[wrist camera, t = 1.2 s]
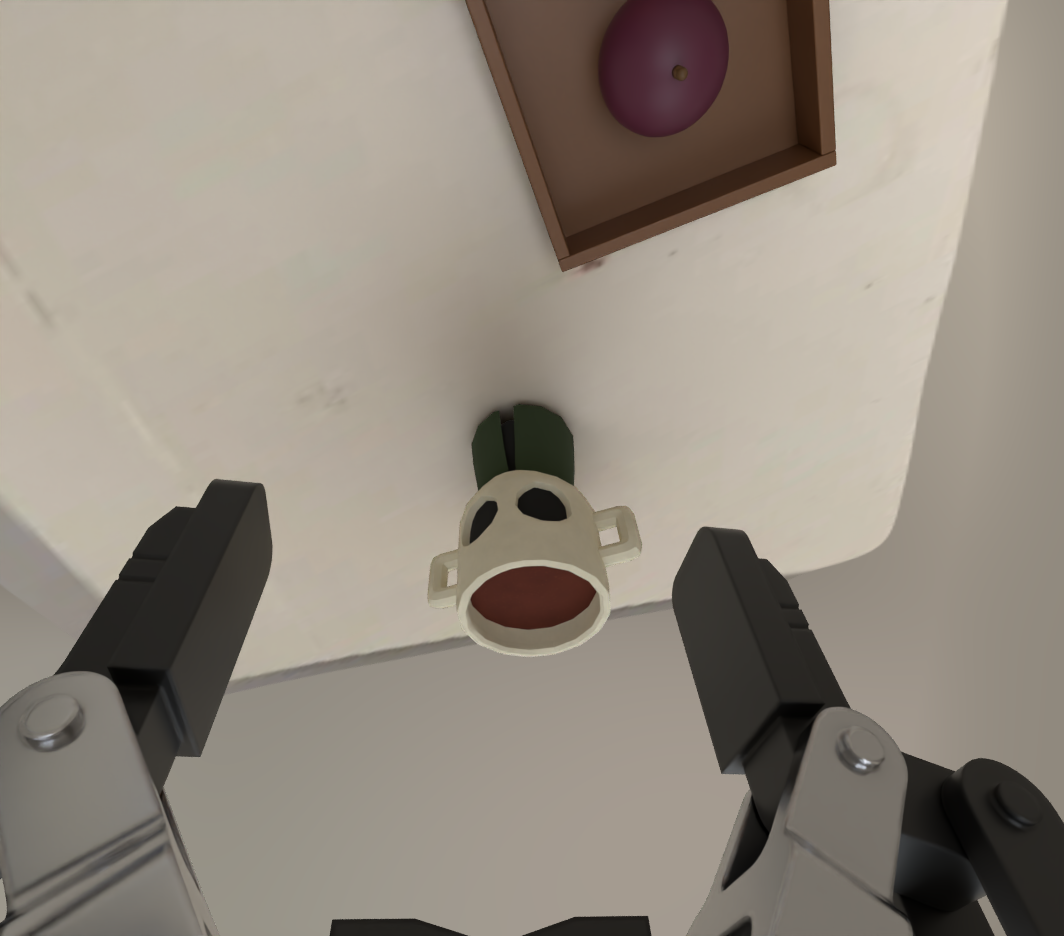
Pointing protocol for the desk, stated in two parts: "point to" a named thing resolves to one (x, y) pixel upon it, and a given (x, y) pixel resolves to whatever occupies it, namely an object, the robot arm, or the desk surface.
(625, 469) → the desk surface
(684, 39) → the plum
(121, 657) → the robot arm
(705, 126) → the tray
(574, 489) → the character mug
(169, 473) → the desk surface
